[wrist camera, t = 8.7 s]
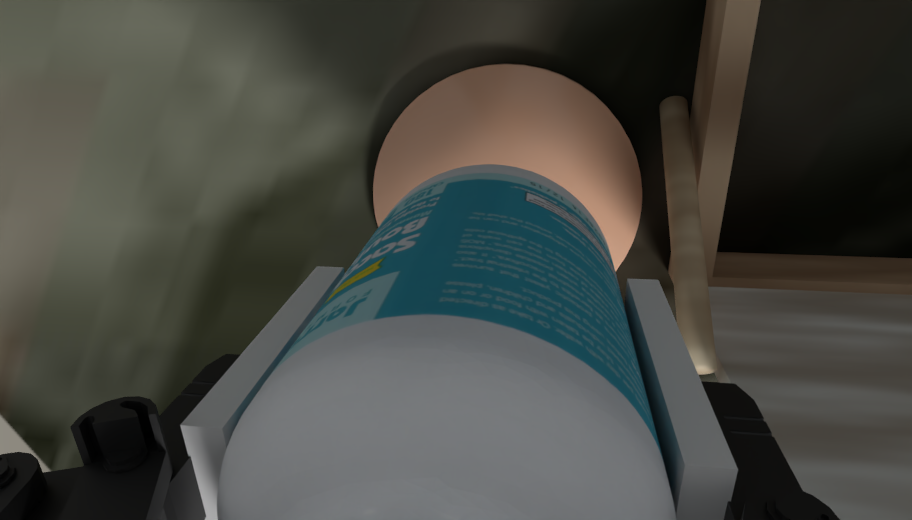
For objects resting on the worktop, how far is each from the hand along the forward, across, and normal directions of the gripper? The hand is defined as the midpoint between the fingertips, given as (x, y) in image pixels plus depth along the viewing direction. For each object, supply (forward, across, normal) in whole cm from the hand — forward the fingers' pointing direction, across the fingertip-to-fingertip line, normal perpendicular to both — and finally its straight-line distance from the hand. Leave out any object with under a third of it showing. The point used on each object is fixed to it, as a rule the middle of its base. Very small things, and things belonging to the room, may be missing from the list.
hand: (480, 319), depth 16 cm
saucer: (+10, 0, 0) cm, 10 cm away
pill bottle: (+3, 0, 0) cm, 3 cm away
